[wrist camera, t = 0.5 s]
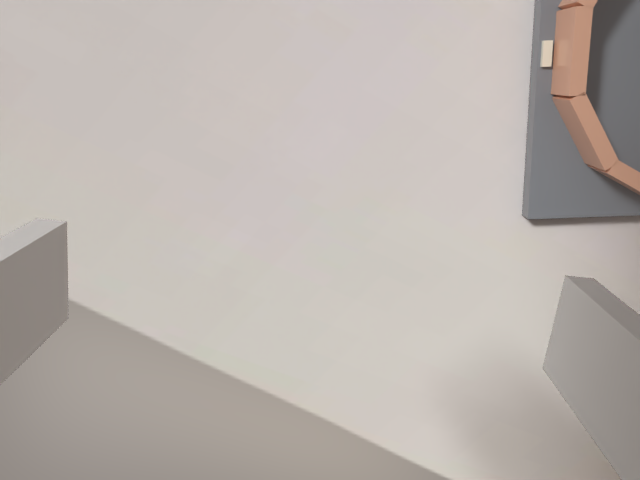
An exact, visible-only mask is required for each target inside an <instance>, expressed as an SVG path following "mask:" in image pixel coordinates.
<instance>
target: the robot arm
mask: <svg viewBox="0 0 640 480" xmlns="http://www.w3.org/2000/svg"><path fill="white" fill-rule="evenodd" d="M67 319H68V259H67V221H59V220H50V219H41V218H37V219H35V220H33V221H31V222H29V223H27V224H25V225H23V226H21V227H20V228H18V229H16V230H14V231H12V232H10V233H8V234H6V235H5V236H3V237H1V238H0V385H1V384H2V383H3V382H4V381H5V380H6V379H7V378H8V377H9V376H10V375H11V374H12V373H13V372H14V371H15V370H16V369H17V368H18V367H19V366H20V365H21V364H22V363H24V362H25V361H26V359H28V358H29V357H30V356H31V355H32V354H33V353H34V352H35V351H36V350H37V349H38V348H39V347H40V346H41V345H42V344H43V343H44V342H45V341H46V340H47V339H48V338H49V337H50V336H51V335H52V334H53V333H54V332H55V331H56V330H57V329H58V328H59V327H60V326H61V325H62V324H63V323H64V322H65V321H66V320H67ZM543 370H544V371H545V372H546V374H547V375H548V377H549V378H550V380H551V381H552V382H553V384H554V385H555V387H556V388H557V389H558V391H559V392H560V394H561V395H562V396H563V398H564V399H565V401H566V402H567V403H568V405H569V406H570V408H571V409H572V411H573V412H574V413H575V415H576V416H577V418H578V419H579V420H580V422H581V423H582V425H583V426H584V427H585V429H586V430H587V432H588V433H589V435H590V436H591V437H592V439H593V440H594V442H595V443H596V444H597V446H598V447H599V449H600V450H601V451H602V453H603V454H604V456H605V457H606V459H607V460H608V461H609V463H610V464H611V466H612V467H613V468H614V470H615V471H616V473H617V474H618V475H619V477H620V478H621V480H640V315H639V314H637V313H636V312H635V311H634V310H632V309H631V308H630V307H629V306H627V305H626V304H625V303H624V302H623V301H621V300H620V299H619V298H618V297H616V296H615V295H614V294H613V293H611V292H610V291H609V290H608V289H606V288H605V287H604V286H603V285H601V284H600V283H599V282H598V281H596V280H595V279H593V278H584V277H575V276H566V275H565V279H564V283H563V287H562V291H561V295H560V299H559V303H558V307H557V311H556V315H555V319H554V324H553V328H552V332H551V336H550V340H549V344H548V348H547V352H546V356H545V360H544V364H543Z"/></svg>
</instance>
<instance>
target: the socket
mask: <svg viewBox="0 0 640 480" xmlns="http://www.w3.org/2000/svg"><path fill="white" fill-rule="evenodd" d="M522 215H523V216H524V217H525V218H527V219H550V218H578V217H606V216H634V215H640V0H535V8H534V25H533V42H532V59H531V75H530V92H529V109H528V126H527V142H526V159H525V176H524V192H523V209H522Z"/></svg>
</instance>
